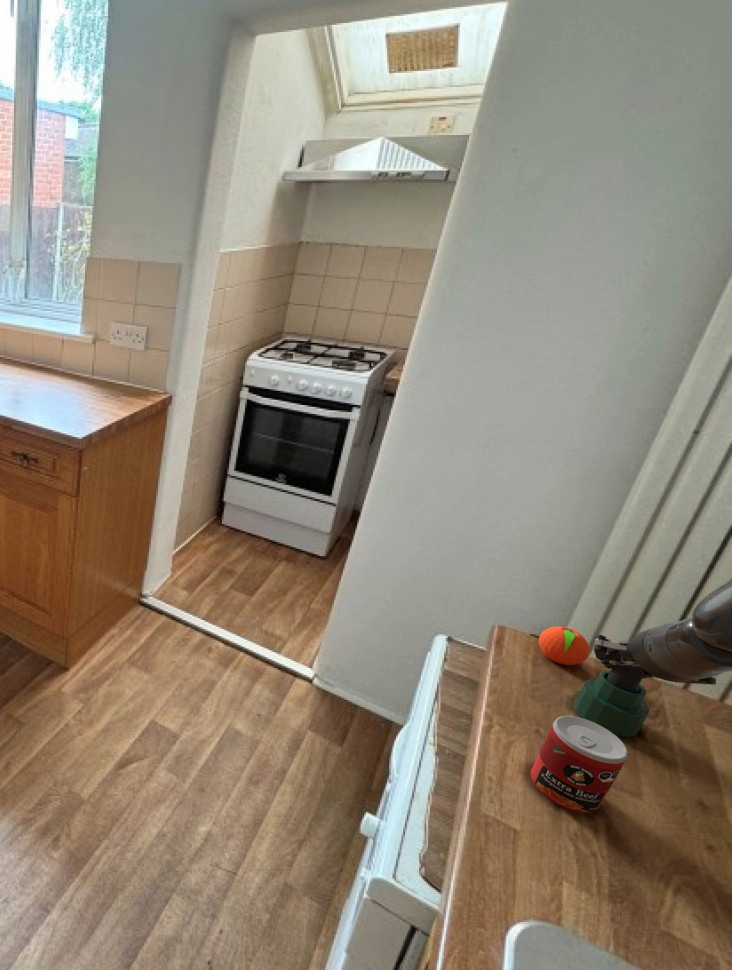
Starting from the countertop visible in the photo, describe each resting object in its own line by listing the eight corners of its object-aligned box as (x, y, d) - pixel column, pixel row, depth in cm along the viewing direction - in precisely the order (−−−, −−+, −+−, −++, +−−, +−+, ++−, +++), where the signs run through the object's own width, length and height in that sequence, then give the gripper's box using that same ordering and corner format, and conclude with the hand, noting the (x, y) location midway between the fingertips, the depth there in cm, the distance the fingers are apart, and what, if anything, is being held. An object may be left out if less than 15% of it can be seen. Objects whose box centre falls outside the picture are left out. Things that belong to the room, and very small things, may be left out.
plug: (632, 693, 99) (653, 655, 96) (629, 703, 97) (650, 665, 94) (604, 681, 101) (623, 644, 98) (600, 690, 99) (620, 653, 96)
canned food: (526, 792, 89) (552, 737, 84) (531, 759, 94) (556, 706, 90) (597, 828, 84) (629, 771, 79) (598, 791, 89) (628, 736, 85)
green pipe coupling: (639, 722, 101) (659, 685, 98) (633, 746, 96) (654, 709, 93) (577, 694, 106) (594, 659, 103) (568, 716, 102) (586, 679, 99)
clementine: (581, 682, 109) (596, 651, 107) (531, 663, 114) (545, 633, 111) (581, 659, 115) (596, 629, 112) (534, 642, 119) (547, 613, 116)
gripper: (756, 644, 83) (684, 661, 97) (616, 608, 90) (568, 628, 104) (755, 698, 81) (681, 707, 95) (612, 656, 88) (563, 671, 102)
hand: (622, 666), depth 99 cm, fingers closed on plug, 3 cm apart
